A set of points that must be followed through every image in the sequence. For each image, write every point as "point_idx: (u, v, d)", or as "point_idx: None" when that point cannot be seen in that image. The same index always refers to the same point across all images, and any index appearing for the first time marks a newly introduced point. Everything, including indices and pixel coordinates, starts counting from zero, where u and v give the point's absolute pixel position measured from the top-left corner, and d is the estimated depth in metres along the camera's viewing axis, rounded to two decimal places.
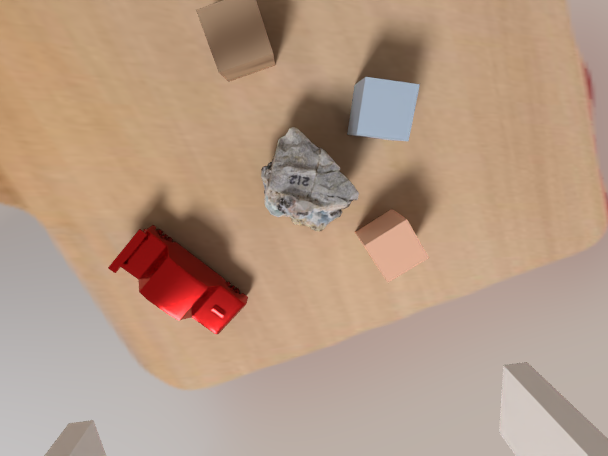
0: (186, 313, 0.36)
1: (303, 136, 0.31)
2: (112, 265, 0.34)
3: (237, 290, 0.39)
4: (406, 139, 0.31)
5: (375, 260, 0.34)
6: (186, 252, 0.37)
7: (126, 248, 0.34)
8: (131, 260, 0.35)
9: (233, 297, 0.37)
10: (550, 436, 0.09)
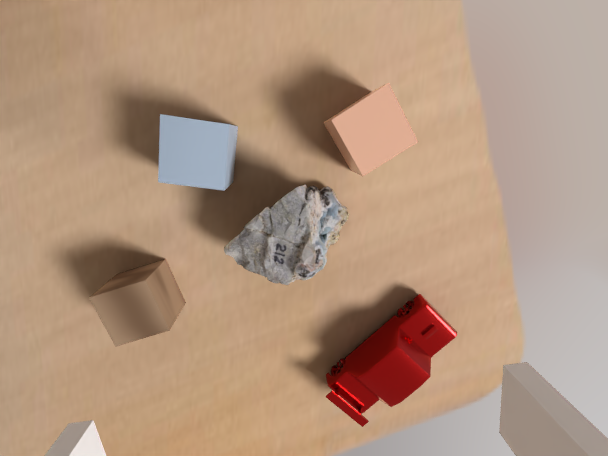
0: (424, 368, 0.32)
1: (232, 241, 0.28)
2: (360, 422, 0.34)
3: (409, 303, 0.35)
4: (227, 127, 0.24)
5: (384, 160, 0.26)
6: (357, 350, 0.35)
7: (344, 409, 0.34)
8: (358, 403, 0.35)
9: (415, 315, 0.33)
10: (550, 436, 0.09)
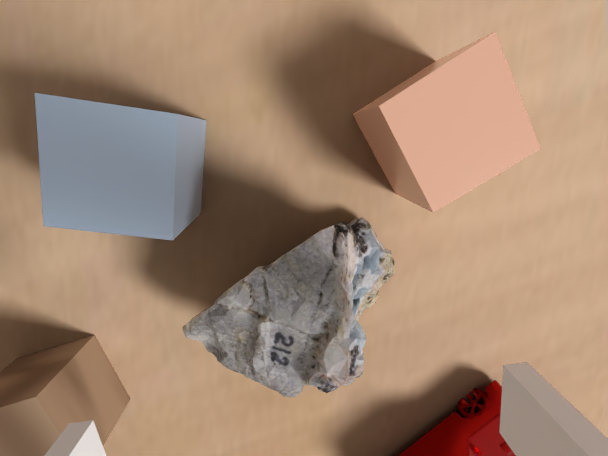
0: None
1: (197, 320, 0.15)
2: None
3: (478, 393, 0.22)
4: (173, 119, 0.12)
5: (475, 183, 0.14)
6: None
7: None
8: None
9: (494, 421, 0.20)
10: (550, 436, 0.09)
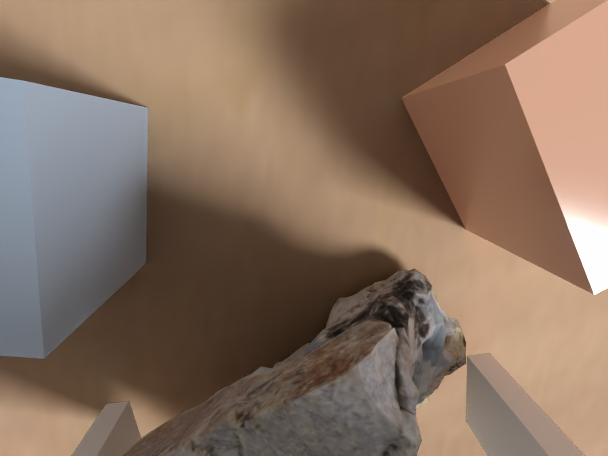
0: None
1: None
2: None
3: None
4: (15, 94, 0.05)
5: None
6: None
7: None
8: None
9: None
10: (504, 420, 0.09)
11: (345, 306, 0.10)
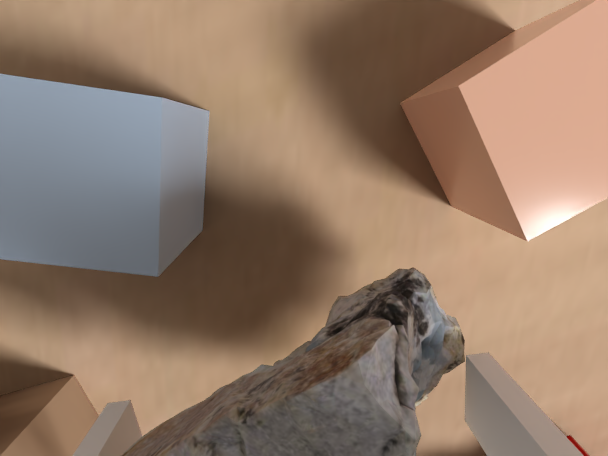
0: None
1: None
2: None
3: None
4: (156, 105, 0.08)
5: (592, 200, 0.09)
6: None
7: None
8: None
9: None
10: (502, 420, 0.09)
11: (345, 304, 0.11)
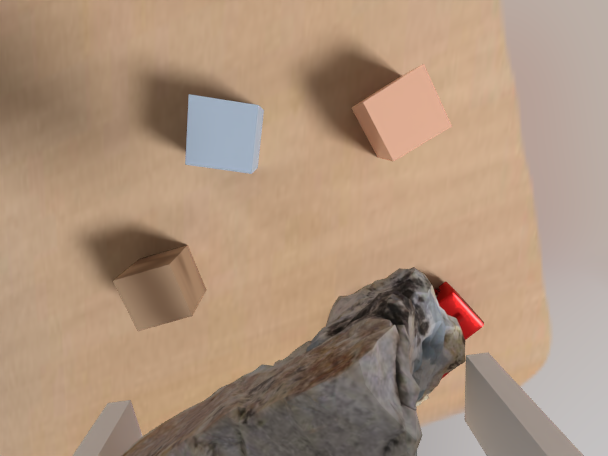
0: None
1: None
2: None
3: (434, 291, 0.34)
4: (256, 108, 0.24)
5: (416, 145, 0.25)
6: None
7: None
8: None
9: (441, 302, 0.32)
10: (502, 419, 0.09)
11: (345, 304, 0.11)
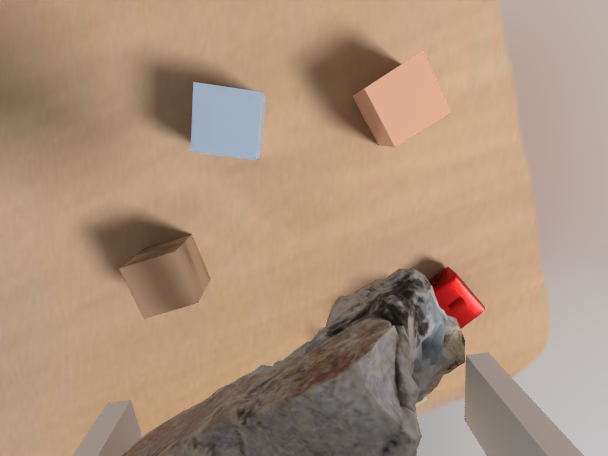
0: None
1: None
2: None
3: (437, 276, 0.34)
4: (260, 94, 0.24)
5: (417, 130, 0.26)
6: None
7: None
8: None
9: (444, 286, 0.32)
10: (502, 420, 0.09)
11: (345, 304, 0.11)
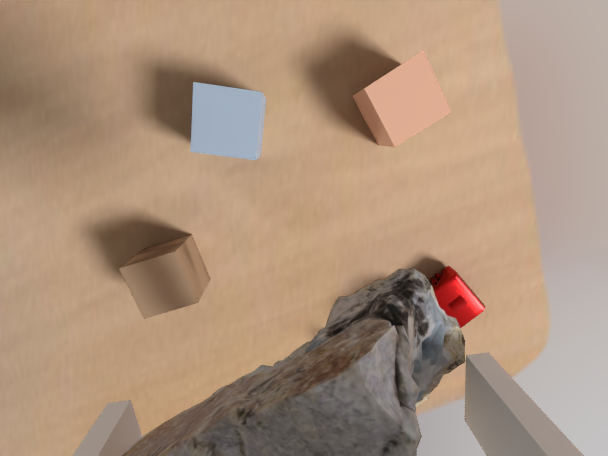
0: None
1: None
2: None
3: (437, 275, 0.34)
4: (259, 94, 0.24)
5: (417, 130, 0.26)
6: None
7: None
8: None
9: (444, 285, 0.32)
10: (502, 420, 0.09)
11: (345, 304, 0.11)
